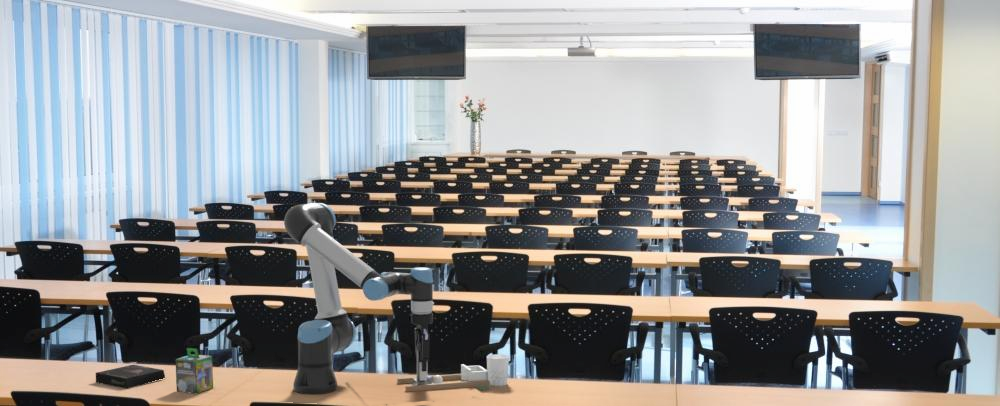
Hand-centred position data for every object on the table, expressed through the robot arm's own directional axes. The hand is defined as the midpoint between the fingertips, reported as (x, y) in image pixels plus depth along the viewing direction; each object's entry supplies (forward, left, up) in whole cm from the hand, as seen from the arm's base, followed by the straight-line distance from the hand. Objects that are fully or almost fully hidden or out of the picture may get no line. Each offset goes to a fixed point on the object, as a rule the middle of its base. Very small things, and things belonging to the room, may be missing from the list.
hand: (422, 378), depth 387 cm
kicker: (-1, 0, -2) cm, 2 cm away
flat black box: (-96, +45, -4) cm, 106 cm away
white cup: (+28, 0, -4) cm, 28 cm away
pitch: (+8, 0, -4) cm, 8 cm away
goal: (+19, 0, -4) cm, 19 cm away
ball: (+6, 0, -1) cm, 6 cm away
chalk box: (-75, +24, -4) cm, 79 cm away
